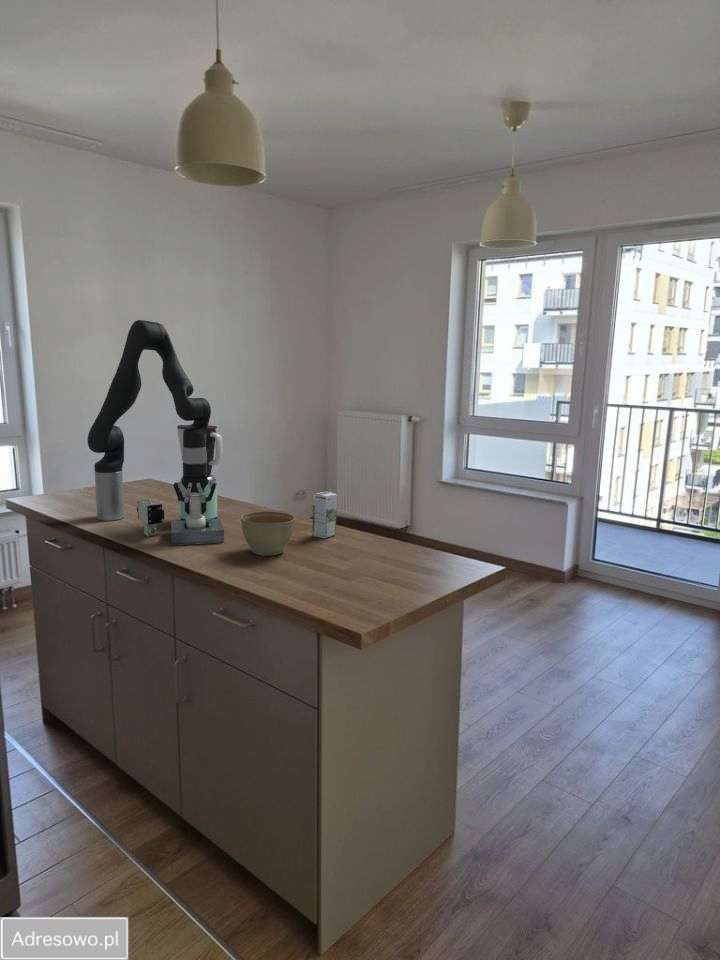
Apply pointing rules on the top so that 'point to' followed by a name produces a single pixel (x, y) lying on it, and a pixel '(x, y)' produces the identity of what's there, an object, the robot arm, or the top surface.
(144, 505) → the pneumatic valve
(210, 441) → the mint green blender
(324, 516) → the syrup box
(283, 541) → the planter bowl
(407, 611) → the top surface
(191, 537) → the bore block
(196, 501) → the white stepped cylindrical peg
